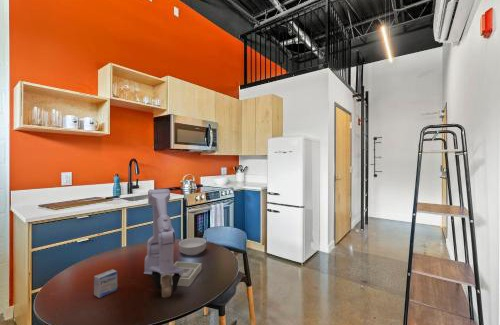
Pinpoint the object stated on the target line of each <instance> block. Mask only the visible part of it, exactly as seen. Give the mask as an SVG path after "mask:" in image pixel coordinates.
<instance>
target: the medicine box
mask: <svg viewBox="0 0 500 325" xmlns="http://www.w3.org/2000/svg"><path fill="white" fill-rule="evenodd" d="M117 290H118V271H117V270H115V269H110V270H107V271H104V272H102V273H99V274H96V275H93V295H94V296H95V297H97V298H99V299H101V298H103V296H104V297H105V295H106V296H108V295H109V294H112V293H114V292H116V291H117Z"/></svg>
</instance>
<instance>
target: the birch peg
mask: <svg viewBox="0 0 500 325" xmlns="http://www.w3.org/2000/svg"><path fill="white" fill-rule="evenodd" d="M161 276H162V275H161ZM171 296H172V285H171V275H164V276H162V284H161V298H163V299H166V298H170V297H171Z"/></svg>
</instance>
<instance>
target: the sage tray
mask: <svg viewBox="0 0 500 325" xmlns="http://www.w3.org/2000/svg"><path fill="white" fill-rule="evenodd" d="M173 266H174V267H177V268H180V269H183V274H182V275H181V277H180V279H179V281H178V285H177V287H188V288H190V287H191V285H192V284H193V282H194V281H195V279H196V278H197V277H198V275H199V274H200V273H201V271H202V262H201V263H200V262H189V261H175V262H173ZM164 275H171V286H173V282H172V276H173V275H174V274H169V273H168V274H164ZM164 275H161V279H160V285H162V276H164Z"/></svg>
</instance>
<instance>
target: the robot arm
mask: <svg viewBox="0 0 500 325" xmlns="http://www.w3.org/2000/svg"><path fill="white" fill-rule="evenodd" d="M170 200H171V190H170V189H169V188H160V189H159V188H157V189H156V188H155V189H150V188H149V190H148V191H147V203H148V205H151V207H152V236H150V238H148V239H147V244H146V255H145V258H144V272H143V274H144V275H150V278H151V279H152V281H153V283H154V287H155V290H156V291H159V289H160V288H161V276H162V275H164V274H168V273H169V274H174V275H173V276H172V282H173V285H172V292H174V293H175V292H176V291H177V290H178V286H177V285H178V281H179V279H180V277H181V275H182V274H183V269H180V268H177V267H174V266H173V264H174V244H175V243H176V233H175V230H174V227H173V226H172V221H171V217H170V216H169V215H168V210H167V209H168V208H167V207H168V206H167V205H168V203H169V201H170Z"/></svg>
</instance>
